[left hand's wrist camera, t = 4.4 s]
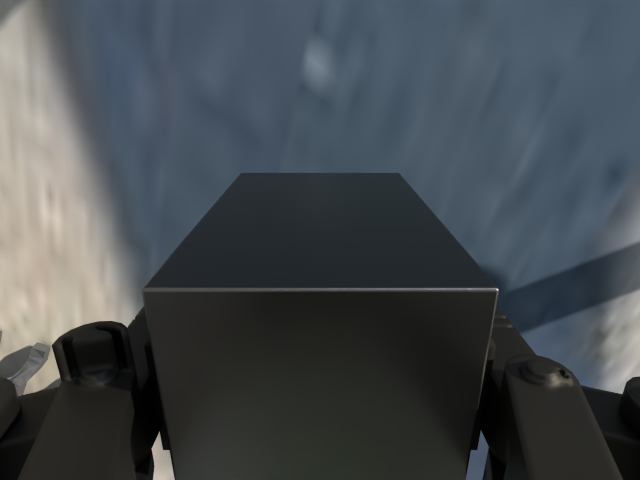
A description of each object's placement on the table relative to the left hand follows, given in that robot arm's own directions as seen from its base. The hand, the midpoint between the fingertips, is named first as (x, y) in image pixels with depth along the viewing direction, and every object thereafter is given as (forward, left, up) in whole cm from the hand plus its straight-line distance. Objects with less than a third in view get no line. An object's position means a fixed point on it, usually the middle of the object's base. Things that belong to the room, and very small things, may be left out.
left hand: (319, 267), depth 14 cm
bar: (+14, +4, -1) cm, 15 cm away
